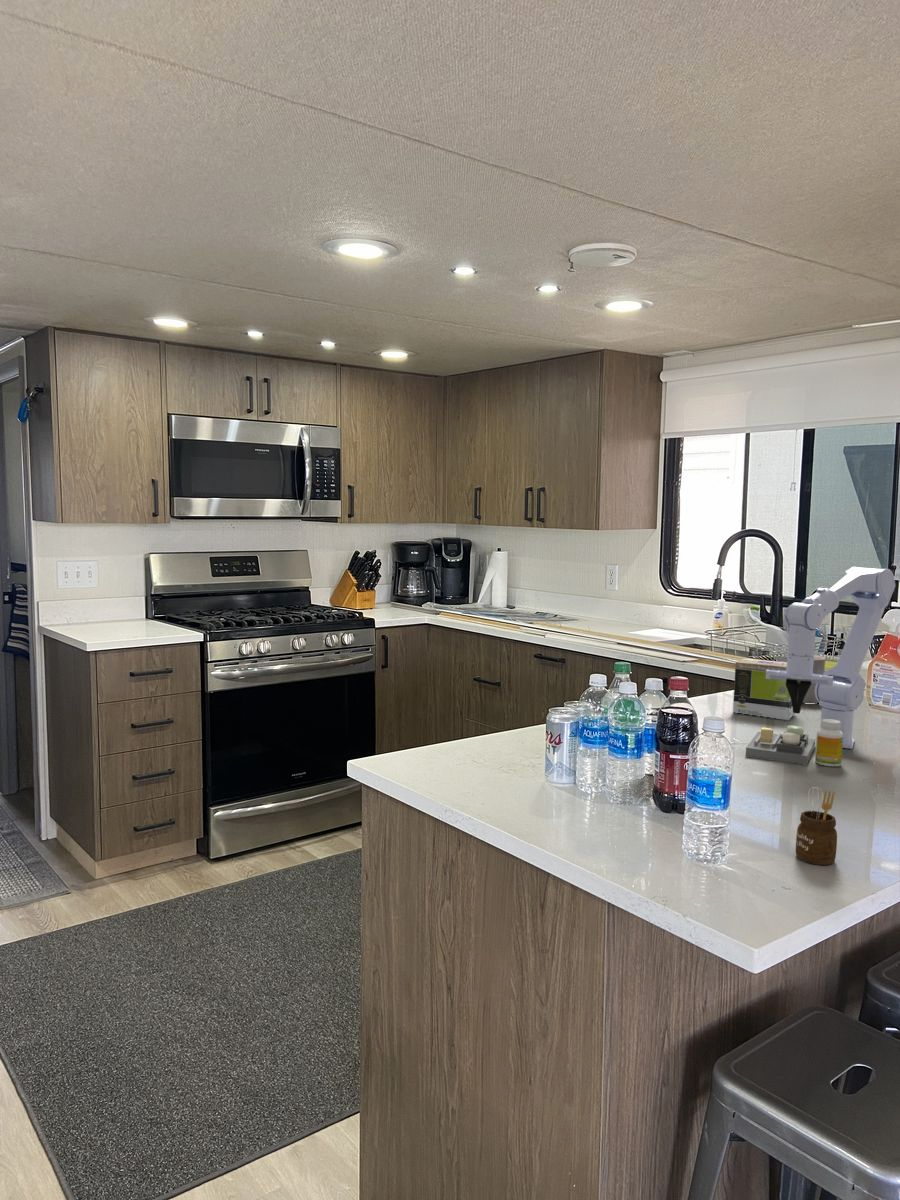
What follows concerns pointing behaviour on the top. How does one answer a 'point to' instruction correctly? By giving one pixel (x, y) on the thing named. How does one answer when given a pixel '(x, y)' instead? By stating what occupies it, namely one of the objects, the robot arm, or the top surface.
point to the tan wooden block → (766, 735)
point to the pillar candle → (810, 695)
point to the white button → (791, 739)
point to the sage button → (796, 730)
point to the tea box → (761, 690)
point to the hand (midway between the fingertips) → (796, 712)
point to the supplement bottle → (829, 743)
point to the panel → (781, 749)
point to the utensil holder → (817, 834)
